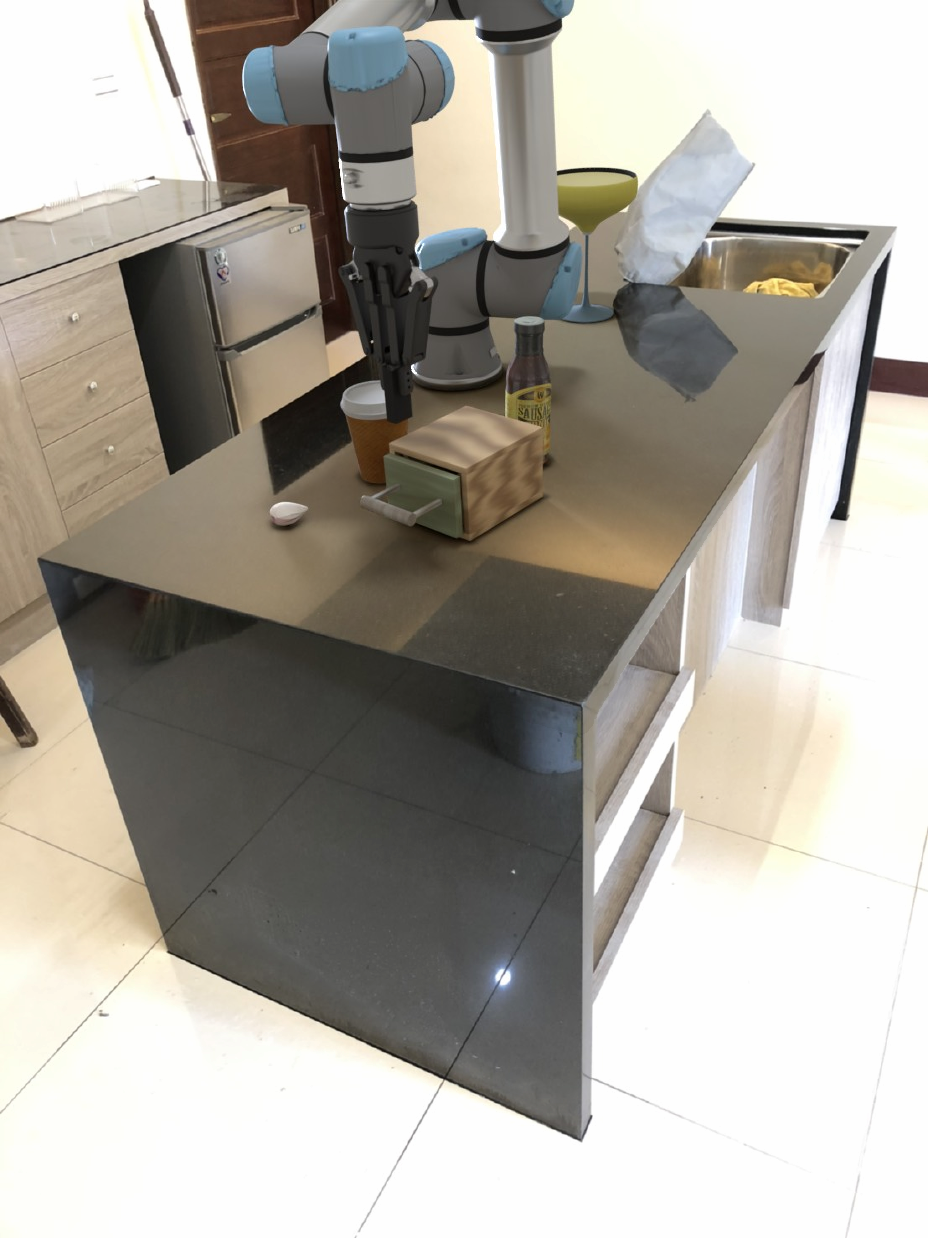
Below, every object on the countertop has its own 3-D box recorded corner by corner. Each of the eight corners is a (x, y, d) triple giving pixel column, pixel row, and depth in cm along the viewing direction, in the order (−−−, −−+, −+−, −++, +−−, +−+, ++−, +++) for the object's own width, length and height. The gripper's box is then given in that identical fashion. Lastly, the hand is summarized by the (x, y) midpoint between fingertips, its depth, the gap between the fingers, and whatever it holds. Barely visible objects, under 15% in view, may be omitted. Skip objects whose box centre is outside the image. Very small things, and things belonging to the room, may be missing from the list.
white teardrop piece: (268, 518, 131) (265, 501, 130) (305, 509, 133) (302, 492, 132) (276, 532, 128) (273, 515, 127) (314, 523, 130) (311, 506, 128)
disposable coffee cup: (391, 494, 135) (383, 410, 129) (335, 480, 140) (324, 398, 133) (430, 467, 142) (424, 385, 135) (376, 454, 146) (367, 375, 140)
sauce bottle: (519, 474, 138) (516, 331, 127) (497, 458, 143) (492, 319, 132) (560, 463, 141) (560, 321, 130) (536, 447, 146) (535, 310, 134)
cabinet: (470, 541, 124) (465, 468, 118) (395, 512, 131) (388, 443, 125) (543, 496, 133) (542, 426, 127) (469, 472, 140) (466, 405, 134)
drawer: (421, 560, 119) (416, 500, 114) (353, 532, 125) (346, 474, 121) (525, 497, 131) (524, 440, 126) (458, 474, 137) (455, 420, 133)
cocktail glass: (569, 295, 207) (570, 164, 193) (648, 307, 197) (655, 170, 183) (521, 320, 195) (518, 182, 181) (603, 334, 185) (607, 189, 172)
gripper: (310, 202, 104) (337, 417, 117) (400, 215, 97) (418, 443, 110) (362, 189, 109) (382, 397, 122) (452, 201, 102) (463, 420, 115)
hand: (399, 418), depth 116 cm, fingers closed
